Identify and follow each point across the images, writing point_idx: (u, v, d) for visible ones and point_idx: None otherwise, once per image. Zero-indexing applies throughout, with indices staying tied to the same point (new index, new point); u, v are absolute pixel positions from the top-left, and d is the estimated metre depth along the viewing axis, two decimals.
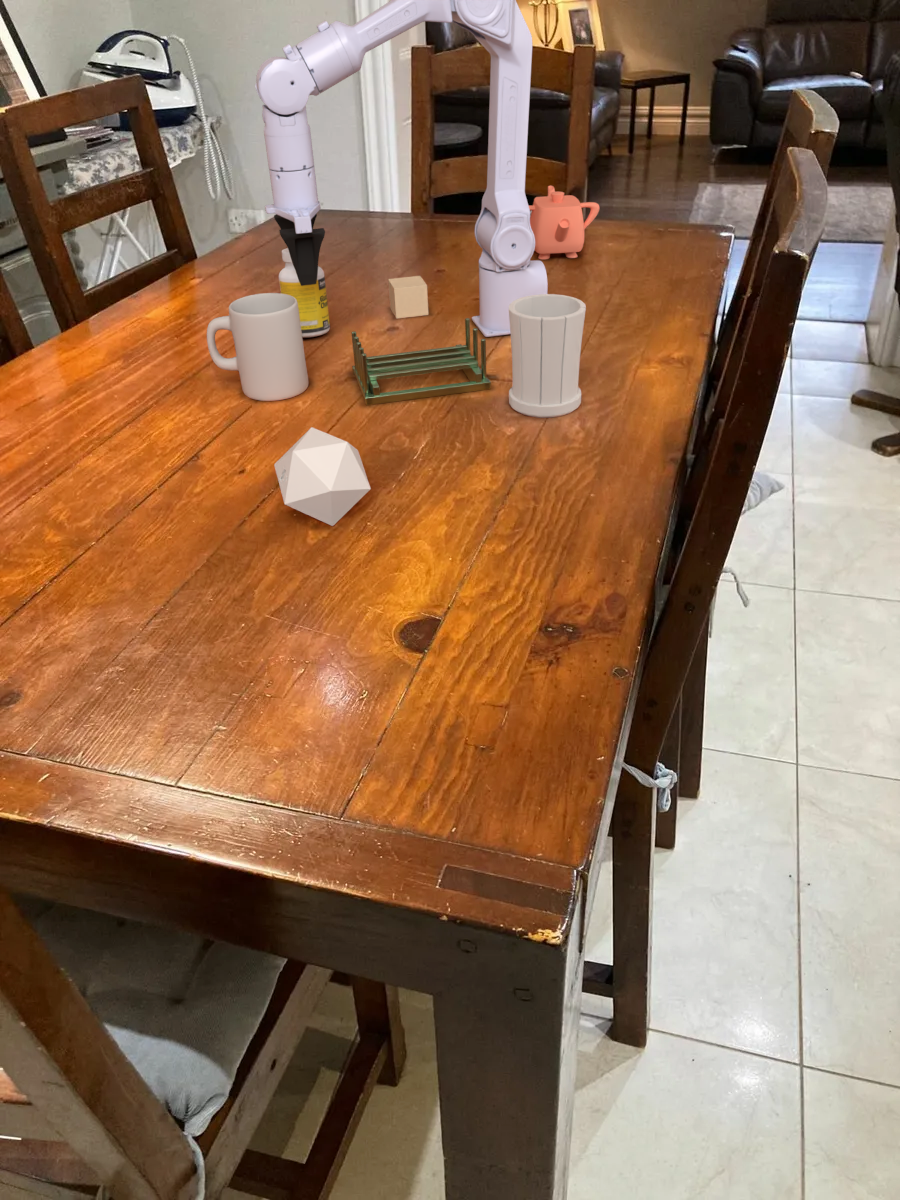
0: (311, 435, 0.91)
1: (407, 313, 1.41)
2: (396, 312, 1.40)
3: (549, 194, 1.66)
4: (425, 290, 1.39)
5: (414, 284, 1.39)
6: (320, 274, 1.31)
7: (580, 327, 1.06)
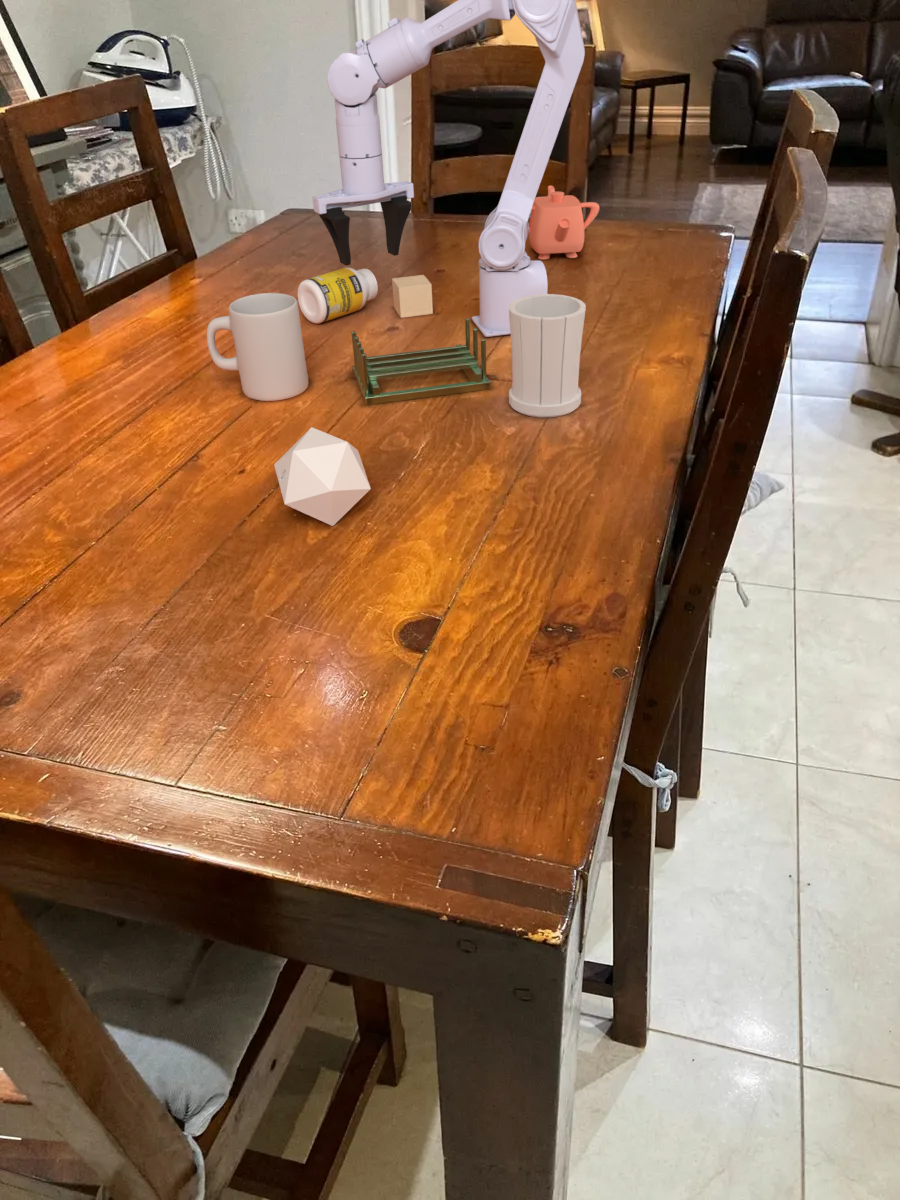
0: (311, 435, 0.91)
1: (411, 313, 1.41)
2: (401, 311, 1.40)
3: (549, 194, 1.66)
4: (429, 289, 1.40)
5: (418, 283, 1.40)
6: (361, 278, 1.40)
7: (580, 327, 1.06)
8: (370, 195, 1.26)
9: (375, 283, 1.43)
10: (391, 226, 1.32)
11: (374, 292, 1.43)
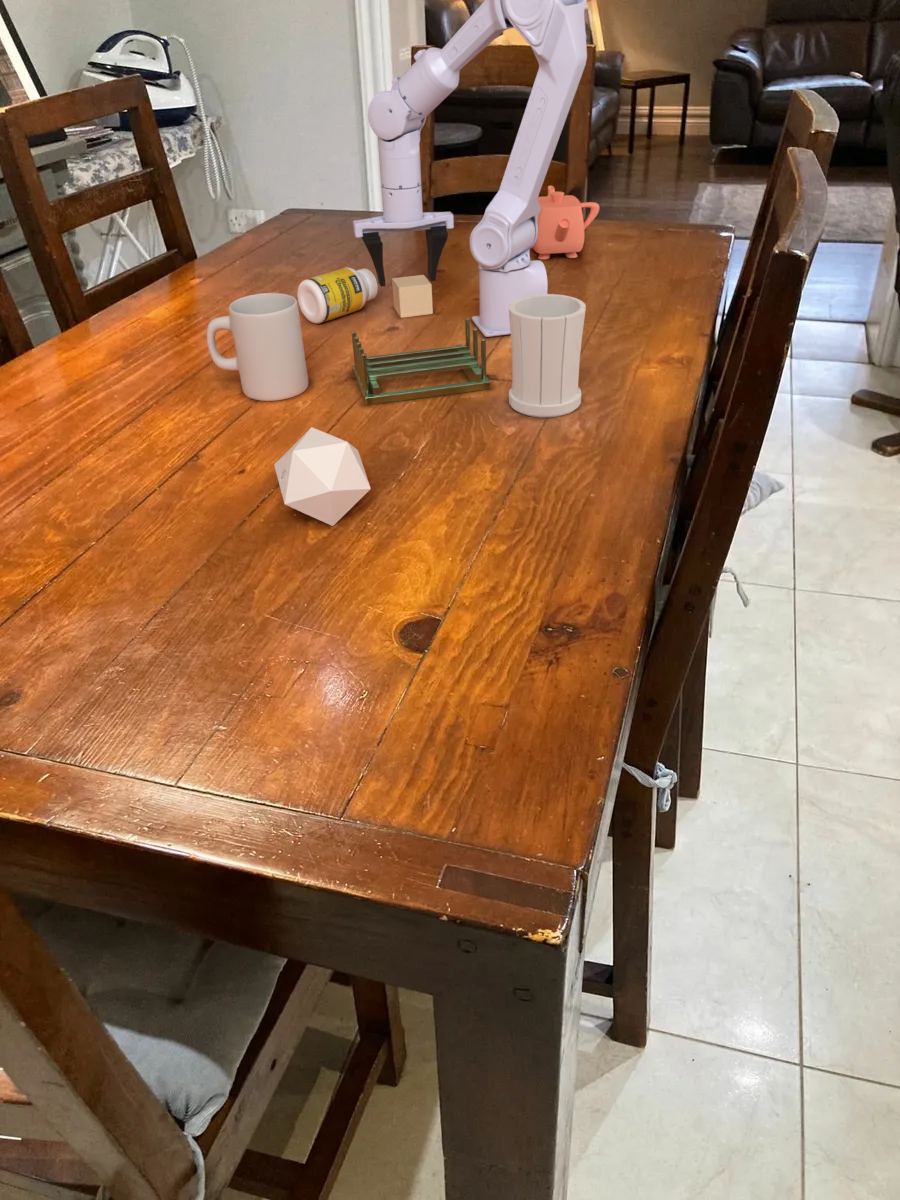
0: (311, 435, 0.91)
1: (411, 313, 1.41)
2: (401, 311, 1.40)
3: (549, 194, 1.66)
4: (429, 289, 1.40)
5: (418, 283, 1.40)
6: (361, 278, 1.40)
7: (580, 327, 1.06)
8: (404, 224, 1.33)
9: (375, 283, 1.43)
10: (430, 253, 1.39)
11: (374, 292, 1.43)
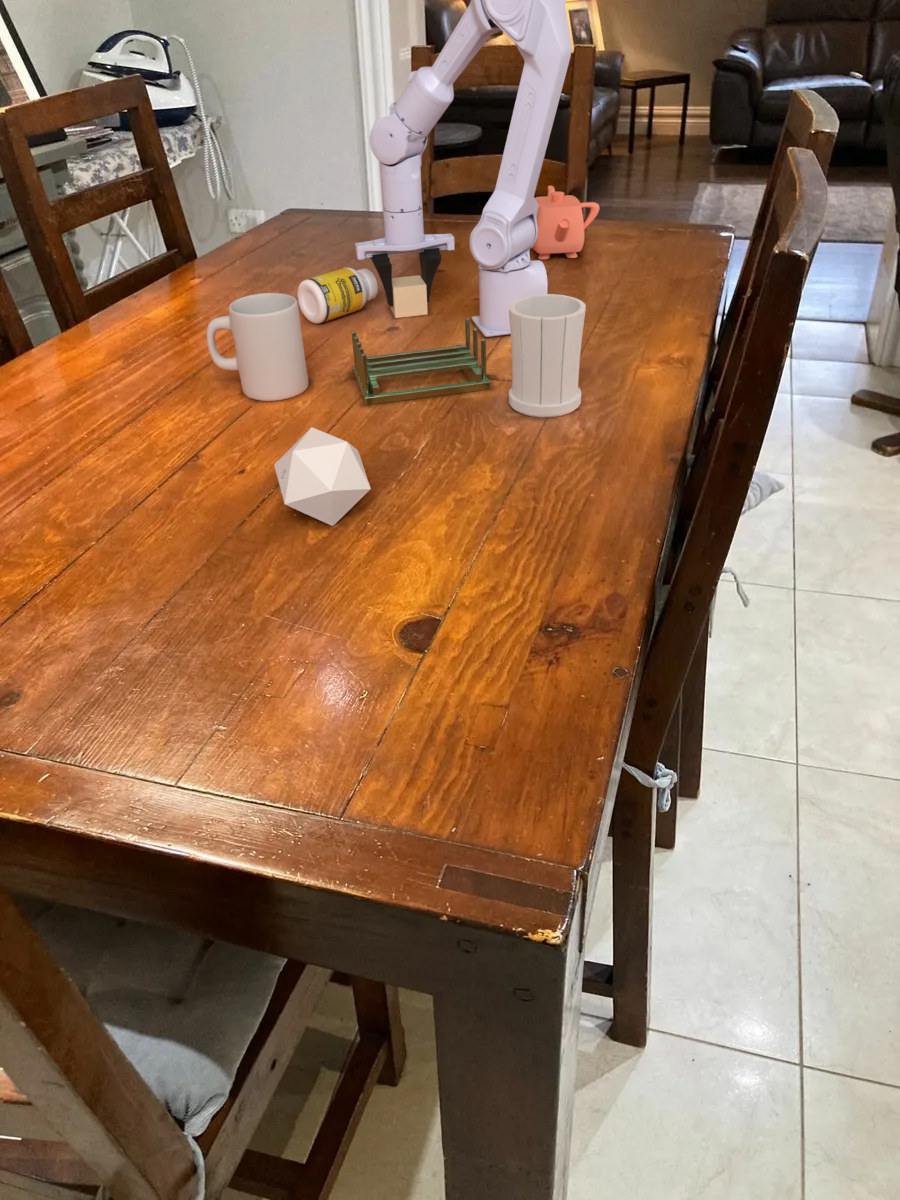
0: (311, 435, 0.91)
1: (406, 313, 1.41)
2: (395, 311, 1.40)
3: (549, 194, 1.66)
4: (424, 290, 1.39)
5: (413, 284, 1.39)
6: (361, 278, 1.40)
7: (580, 327, 1.06)
8: (405, 246, 1.35)
9: (375, 283, 1.43)
10: (423, 275, 1.40)
11: (374, 292, 1.43)
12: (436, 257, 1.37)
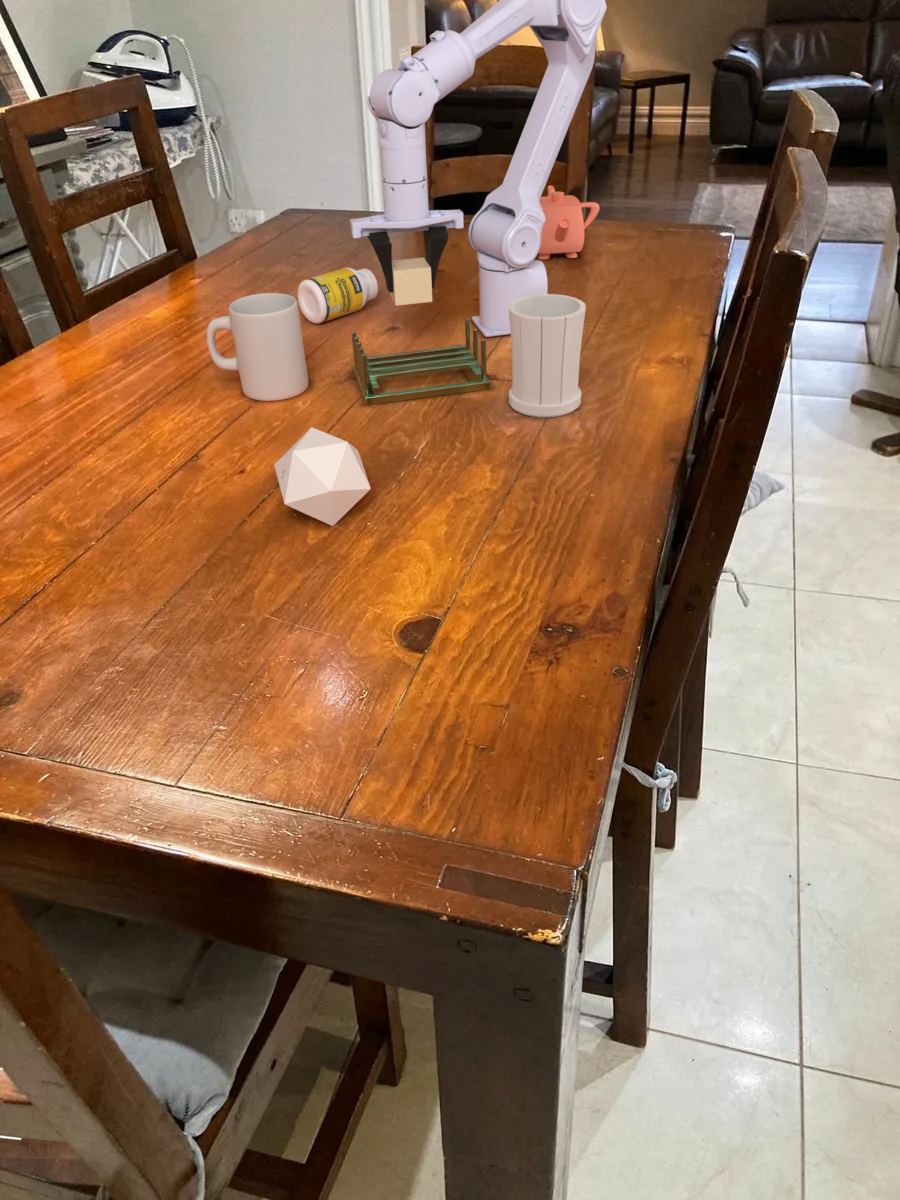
0: (311, 435, 0.91)
1: (408, 300, 1.24)
2: (395, 298, 1.23)
3: (549, 194, 1.66)
4: (429, 273, 1.22)
5: (416, 266, 1.23)
6: (361, 278, 1.40)
7: (580, 327, 1.06)
8: (407, 223, 1.18)
9: (375, 283, 1.43)
10: (428, 257, 1.23)
11: (374, 292, 1.43)
12: (442, 236, 1.20)
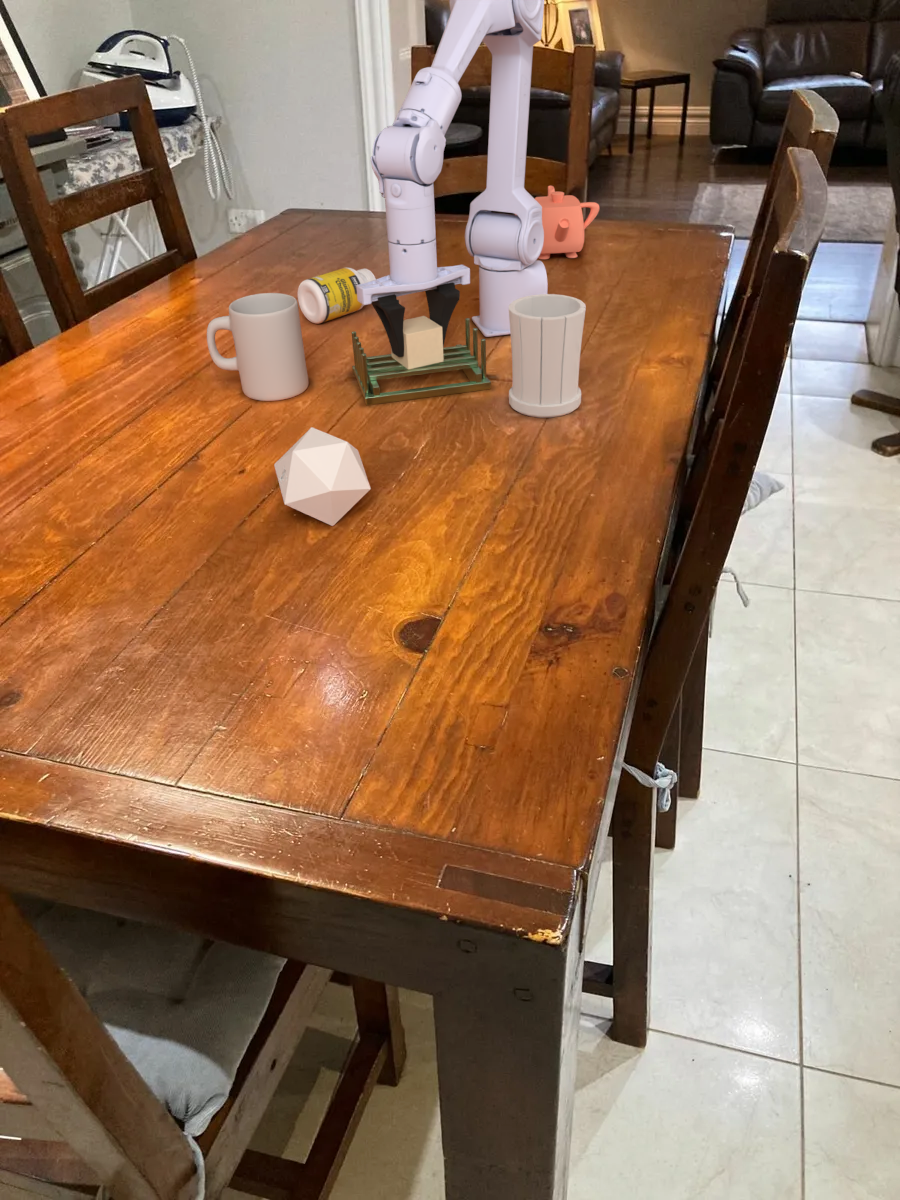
0: (311, 435, 0.91)
1: (420, 362, 1.17)
2: (408, 362, 1.16)
3: (549, 194, 1.66)
4: (440, 333, 1.16)
5: (426, 327, 1.16)
6: (361, 278, 1.40)
7: (580, 327, 1.06)
8: (421, 284, 1.11)
9: None
10: (436, 316, 1.17)
11: None
12: (455, 294, 1.14)
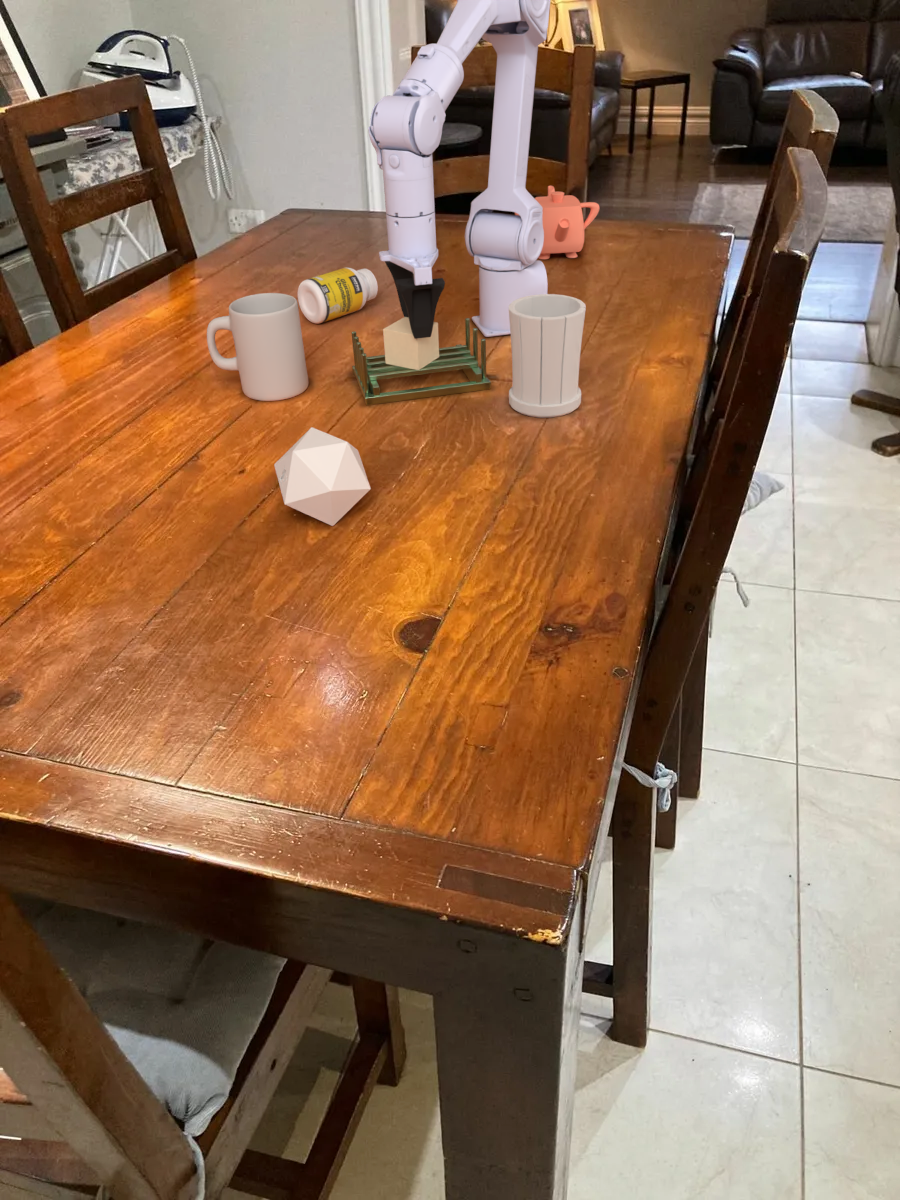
0: (311, 435, 0.91)
1: (425, 361, 1.17)
2: (418, 363, 1.16)
3: (549, 194, 1.66)
4: (437, 329, 1.17)
5: None
6: (361, 278, 1.40)
7: (580, 327, 1.06)
8: (437, 250, 1.11)
9: (375, 283, 1.43)
10: None
11: (374, 292, 1.43)
12: None
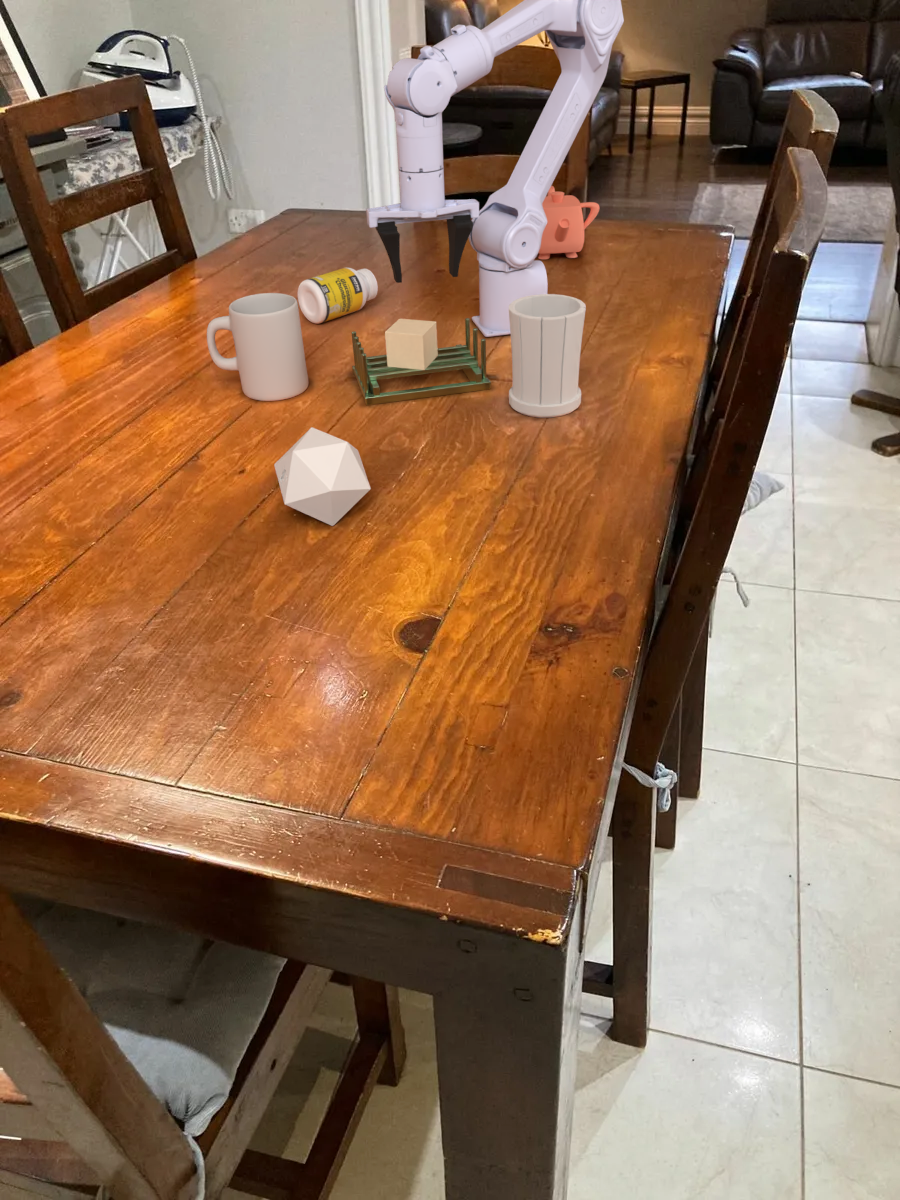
0: (311, 435, 0.91)
1: (429, 361, 1.17)
2: (423, 362, 1.16)
3: (549, 194, 1.66)
4: (435, 328, 1.18)
5: (425, 325, 1.17)
6: (361, 278, 1.40)
7: (580, 327, 1.06)
8: None
9: (375, 283, 1.43)
10: None
11: (374, 292, 1.43)
12: None
